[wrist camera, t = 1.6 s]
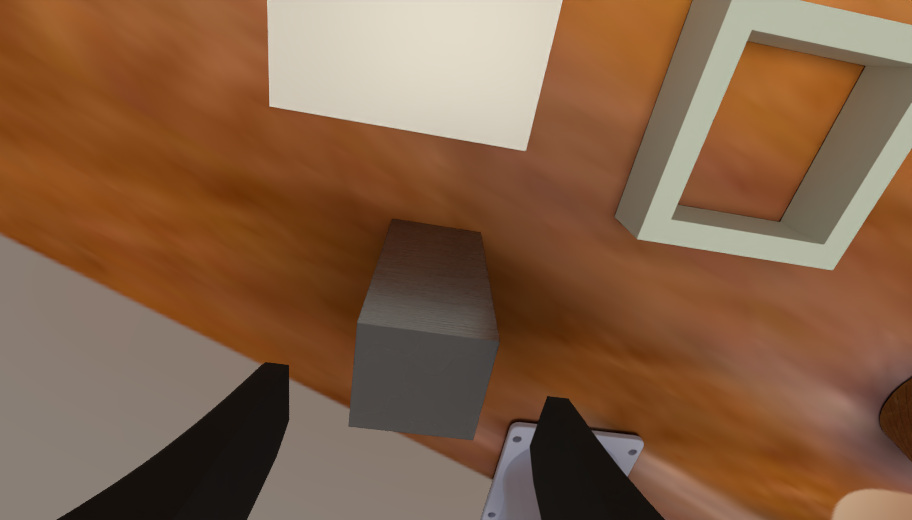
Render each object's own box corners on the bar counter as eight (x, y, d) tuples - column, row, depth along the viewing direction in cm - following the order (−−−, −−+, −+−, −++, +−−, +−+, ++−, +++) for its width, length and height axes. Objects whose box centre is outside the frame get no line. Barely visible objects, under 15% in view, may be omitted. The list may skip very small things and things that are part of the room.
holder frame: (788, 245, 19) (832, 270, 17) (614, 216, 19) (636, 239, 16) (905, 42, 16) (980, 40, 14) (694, -5, 15) (737, -14, 13)
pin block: (464, 306, 21) (472, 440, 14) (383, 294, 20) (348, 426, 13) (480, 232, 19) (499, 341, 12) (392, 218, 19) (357, 322, 12)
